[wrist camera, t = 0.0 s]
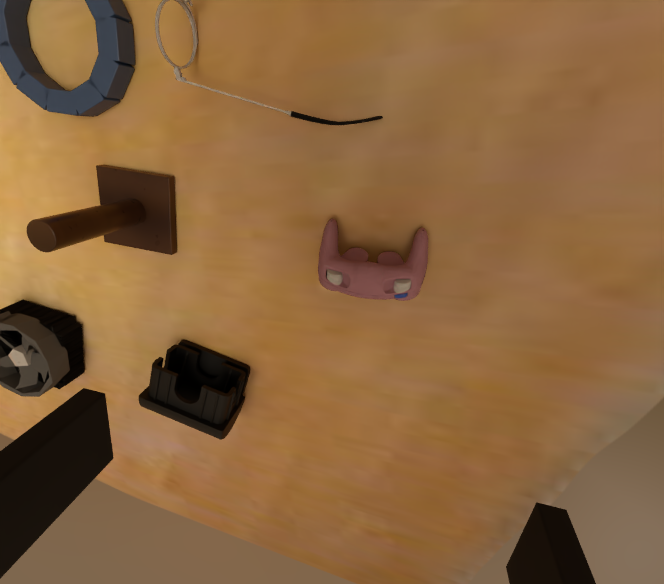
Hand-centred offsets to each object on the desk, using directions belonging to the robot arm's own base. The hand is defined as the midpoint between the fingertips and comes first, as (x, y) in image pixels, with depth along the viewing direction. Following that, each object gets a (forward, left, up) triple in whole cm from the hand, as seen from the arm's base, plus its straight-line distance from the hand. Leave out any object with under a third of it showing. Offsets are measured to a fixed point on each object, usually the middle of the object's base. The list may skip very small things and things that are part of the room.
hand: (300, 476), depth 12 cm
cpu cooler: (+20, -39, -28) cm, 52 cm away
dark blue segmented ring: (-14, -31, -28) cm, 44 cm away
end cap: (+20, -17, -28) cm, 39 cm away
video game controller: (+1, 0, -28) cm, 28 cm away
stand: (+1, -25, -28) cm, 38 cm away
